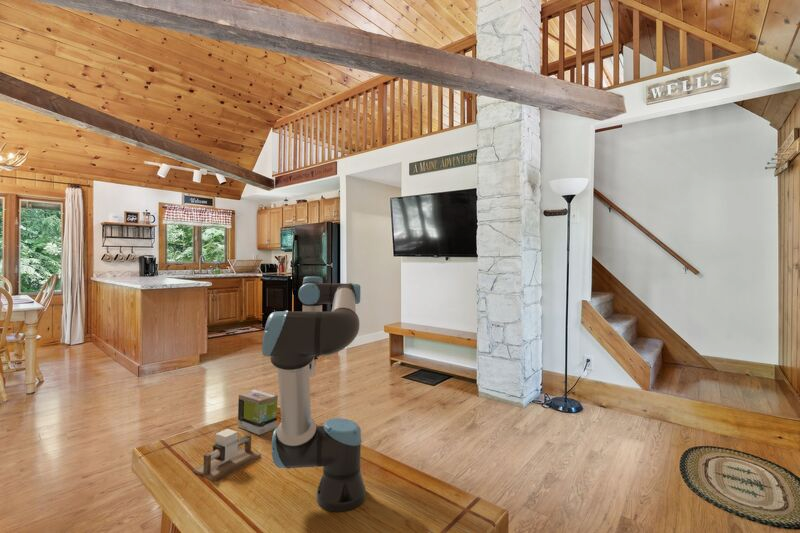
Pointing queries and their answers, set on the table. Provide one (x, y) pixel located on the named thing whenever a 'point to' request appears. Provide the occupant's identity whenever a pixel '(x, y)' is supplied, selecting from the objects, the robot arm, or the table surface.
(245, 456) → the board
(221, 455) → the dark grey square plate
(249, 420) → the tea box
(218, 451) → the pipe
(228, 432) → the sleeve
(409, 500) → the table surface
